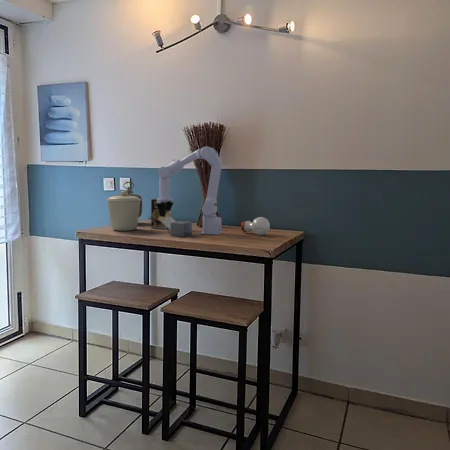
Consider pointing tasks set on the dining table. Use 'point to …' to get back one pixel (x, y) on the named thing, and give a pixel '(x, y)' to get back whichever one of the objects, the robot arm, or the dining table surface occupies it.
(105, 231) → the dining table surface
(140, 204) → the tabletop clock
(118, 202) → the canister
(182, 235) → the housing
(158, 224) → the coffee box
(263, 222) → the potion bottle
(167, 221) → the lever
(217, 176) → the robot arm
